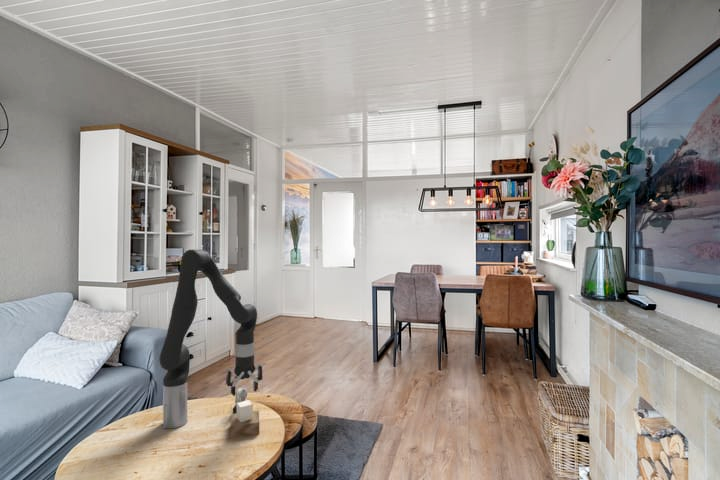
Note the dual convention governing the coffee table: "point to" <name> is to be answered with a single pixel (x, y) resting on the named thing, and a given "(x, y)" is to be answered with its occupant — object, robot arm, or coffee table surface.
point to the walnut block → (244, 426)
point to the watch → (240, 397)
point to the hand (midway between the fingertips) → (244, 393)
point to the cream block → (244, 411)
